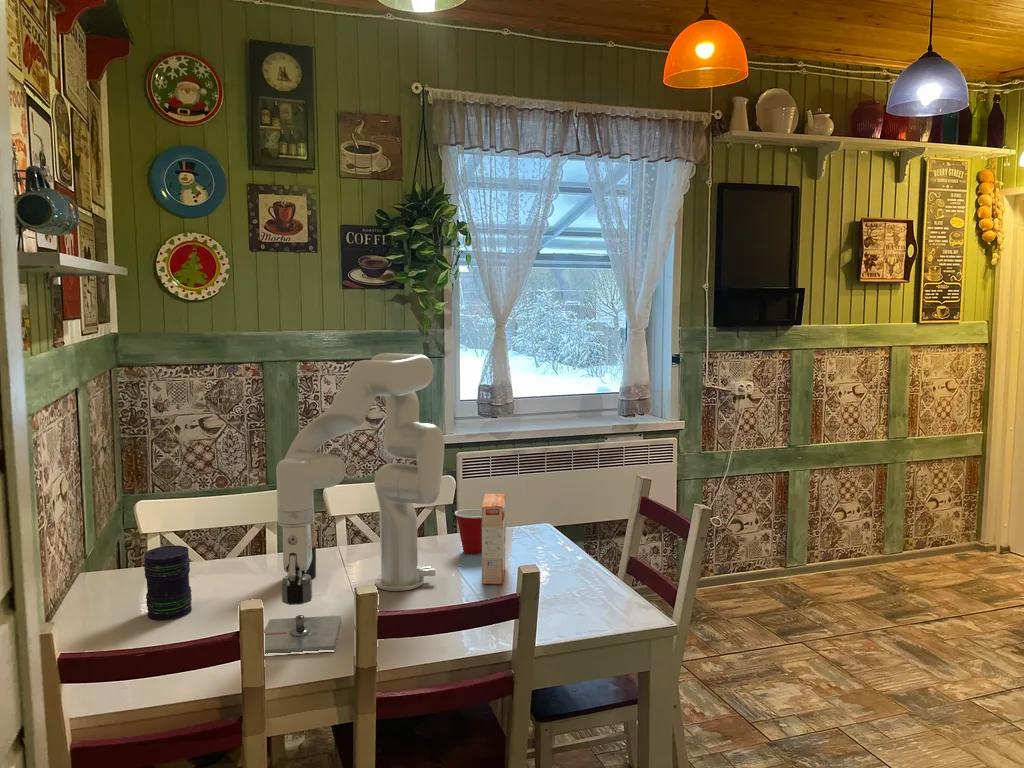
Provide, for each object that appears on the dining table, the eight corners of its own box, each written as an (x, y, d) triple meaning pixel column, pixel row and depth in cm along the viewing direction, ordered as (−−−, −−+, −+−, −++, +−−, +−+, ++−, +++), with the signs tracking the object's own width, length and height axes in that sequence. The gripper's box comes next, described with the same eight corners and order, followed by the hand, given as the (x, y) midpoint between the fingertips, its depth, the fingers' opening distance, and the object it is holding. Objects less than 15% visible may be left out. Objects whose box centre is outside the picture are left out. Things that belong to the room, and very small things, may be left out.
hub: (341, 621, 183) (340, 600, 182) (334, 652, 167) (333, 629, 167) (269, 625, 181) (268, 604, 180) (255, 657, 165) (254, 634, 165)
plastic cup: (497, 547, 235) (497, 508, 234) (483, 559, 225) (483, 518, 224) (464, 544, 239) (463, 505, 238) (448, 555, 229) (448, 514, 228)
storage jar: (196, 603, 194) (193, 544, 193) (187, 619, 185) (183, 557, 183) (153, 606, 193) (149, 546, 191) (141, 622, 183) (137, 560, 182)
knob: (313, 594, 176) (312, 571, 175) (309, 604, 170) (309, 580, 170) (285, 595, 175) (284, 572, 175) (280, 605, 169) (280, 582, 169)
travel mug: (306, 583, 207) (303, 509, 205) (281, 580, 210) (278, 506, 207) (322, 574, 214) (319, 501, 212) (298, 571, 217) (295, 499, 214)
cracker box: (504, 585, 205) (503, 506, 203) (481, 585, 205) (480, 506, 203) (506, 566, 219) (506, 492, 217) (484, 566, 219) (484, 492, 217)
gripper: (308, 526, 163) (310, 611, 164) (318, 505, 180) (319, 583, 182) (270, 527, 162) (272, 613, 164) (284, 506, 179) (286, 584, 181)
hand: (297, 596), depth 173 cm, fingers closed on knob, 6 cm apart
